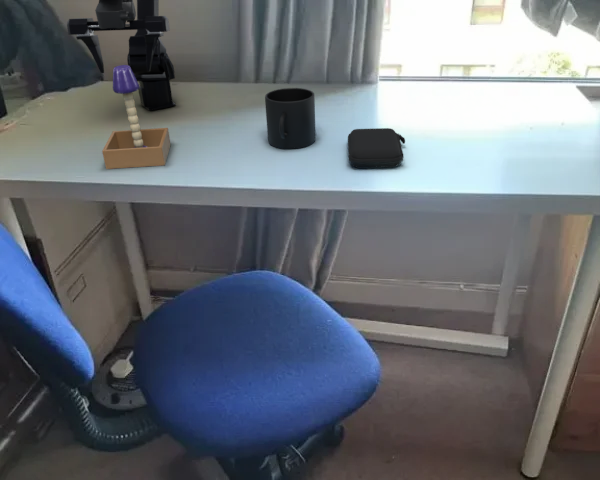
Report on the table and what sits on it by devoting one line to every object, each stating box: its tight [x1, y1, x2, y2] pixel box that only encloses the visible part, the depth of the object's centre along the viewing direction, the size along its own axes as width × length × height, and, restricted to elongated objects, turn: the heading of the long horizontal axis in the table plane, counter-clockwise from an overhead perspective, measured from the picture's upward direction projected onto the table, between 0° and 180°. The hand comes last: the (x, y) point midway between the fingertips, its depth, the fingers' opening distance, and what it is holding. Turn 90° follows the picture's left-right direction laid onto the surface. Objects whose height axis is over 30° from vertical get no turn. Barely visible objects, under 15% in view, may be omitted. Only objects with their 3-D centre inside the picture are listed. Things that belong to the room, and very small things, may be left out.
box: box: [101, 127, 172, 170], centre depth 119 cm, size 11×11×4 cm
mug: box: [264, 87, 317, 150], centre depth 120 cm, size 9×12×9 cm
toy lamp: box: [112, 64, 147, 148], centre depth 115 cm, size 5×5×17 cm
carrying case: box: [347, 127, 406, 169], centre depth 115 cm, size 11×3×15 cm
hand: (125, 72), depth 125 cm, fingers open, 9 cm apart
